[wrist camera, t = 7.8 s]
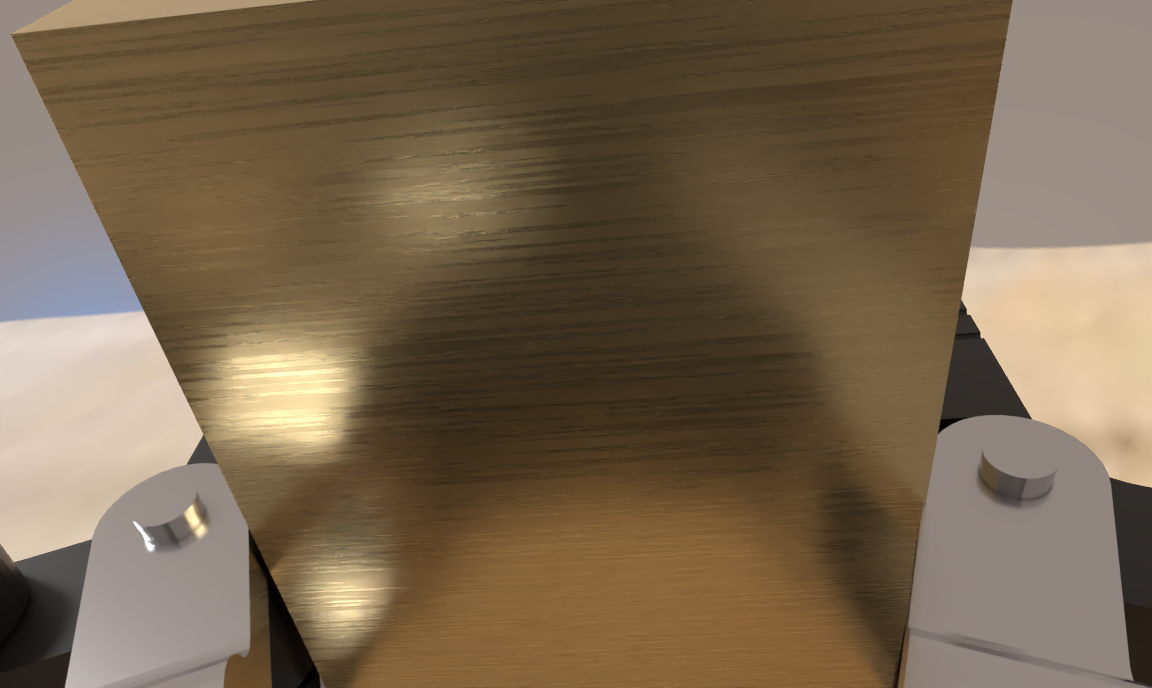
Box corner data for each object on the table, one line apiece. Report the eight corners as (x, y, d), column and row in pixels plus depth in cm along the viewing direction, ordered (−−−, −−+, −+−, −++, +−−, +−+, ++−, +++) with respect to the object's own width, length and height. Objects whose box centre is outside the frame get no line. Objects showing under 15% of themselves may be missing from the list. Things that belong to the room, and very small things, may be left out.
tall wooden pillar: (457, 961, 11) (10, 33, 4) (492, 686, 15) (263, -102, 8) (847, 960, 11) (1027, -79, 4) (793, 675, 14) (840, -173, 7)
